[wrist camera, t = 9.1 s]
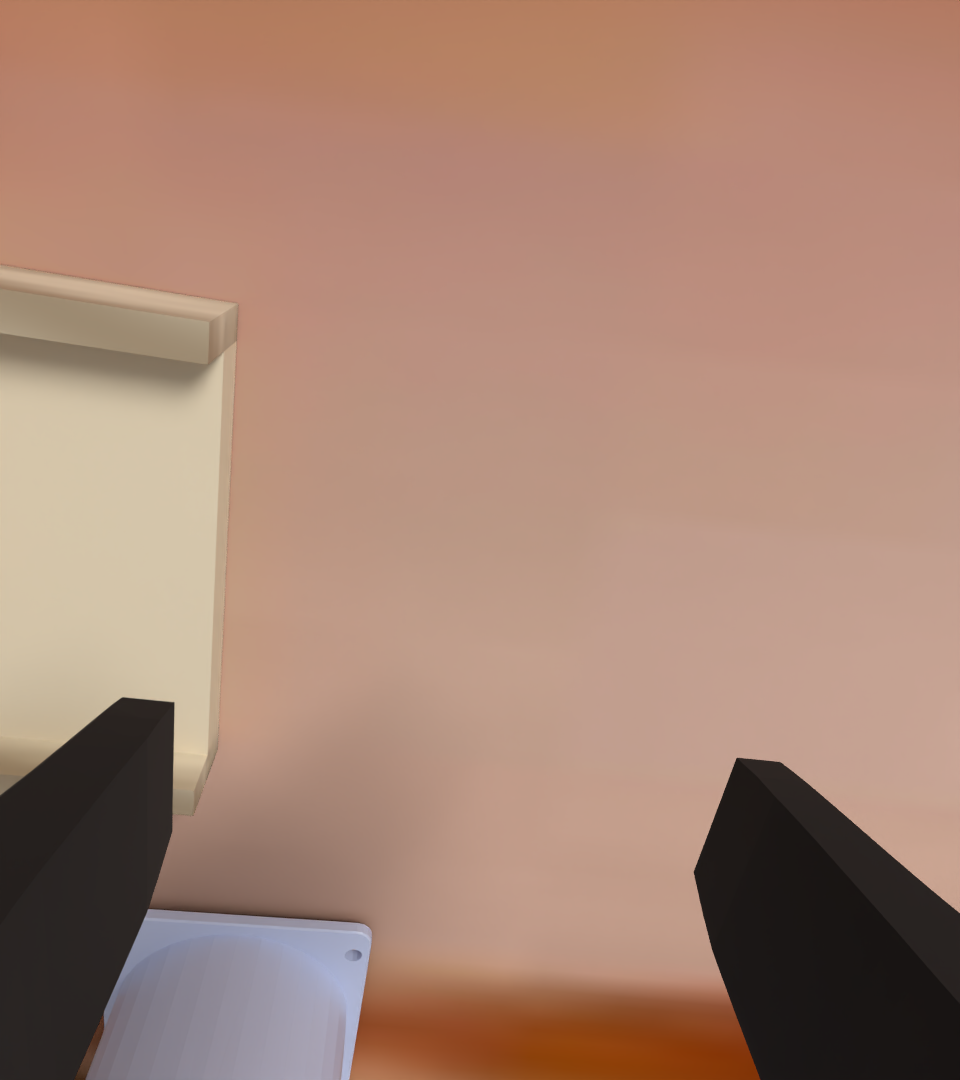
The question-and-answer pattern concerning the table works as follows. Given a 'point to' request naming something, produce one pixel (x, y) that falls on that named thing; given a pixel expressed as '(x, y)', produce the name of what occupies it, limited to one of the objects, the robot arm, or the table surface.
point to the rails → (126, 326)
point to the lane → (112, 536)
